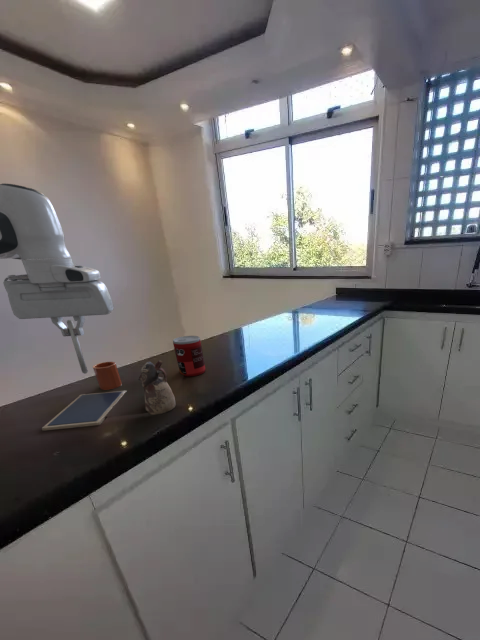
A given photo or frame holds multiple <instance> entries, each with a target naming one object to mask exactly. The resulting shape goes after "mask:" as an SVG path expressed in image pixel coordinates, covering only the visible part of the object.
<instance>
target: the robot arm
mask: <svg viewBox="0 0 480 640" xmlns="http://www.w3.org/2000/svg"><path fill="white" fill-rule="evenodd" d="M65 239H66V238H65V233H64V229H63V228H62V225H61V222H60V219H59V217H58V214H57V212H56V210H55V207H54V206H53V203H52V201H51V200H50V198H49V197H48V196H47V195H45V194H44V193H43V192H41V191H39V190H37V189H34V188H31V187H26V186H23V185H19V184H14V183H0V260H3V259H4V260H5V259H13V260H19V261H20V260H21V263H22V266H23V268H24V270H25V274H17V275H16V274H10V275H7V277H5V278H4V280H3V283H2V284H3V287H4V289H5V292H6V293H7V298H8V301H9V305H10V309H11V311H12V314H13V315H14V316H15V317H16V318H17V319H18V320H32V319H49V318H50V320H51V323H52V324H53V325H54V326H55V327H57V328H58V329H59V330H60V332H61V334H62V336H63V337H71V335H70V331H69V328H68V326H66V325H65V323H64V322H63V321H64V318H68V317H72V318H73V322H76V326H74V327H75V328H73V329H72V330H73V332H74V335H75V336H77V337H79V336H80V337H81V336H84V335H85V330H84V328H83V327H84V325H85V321H86V318H85V317H87V316H88V317H90V316H105V315H106V316H107V315H110V314H112V313H113V311H114V308H115V306H114V302H113V299H112V297H111V294H110V292H109V289H108V287H107V285H106V284H105V283H104V282H103V281H101V279H102V278H101V277H102V276H101V272H100V271H99V269H95V268H92V267H88V266H84V265H80V264H76V263H74V262H73V258H72V255H71V254H70V252H69V250H68V249H67V246H66V242H65V241H66V240H65Z"/></svg>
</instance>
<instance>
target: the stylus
mask: <svg viewBox="0 0 480 640" xmlns="http://www.w3.org/2000/svg"><path fill="white" fill-rule="evenodd" d="M66 325H67V328H69V331H70V335H71V336H70V337H71V341H72V344H73V348H74V350H75V351H74V352H75V354H76V357H77V360H78V363H79V366H80V370H81V373H82V374H87V373H88V372H89V370H88V368H87V364H86V361H85V357H84V355H83V354H84V353H83V351H82V348H81V345H80V341H79V336H75V335H74V332H73V330H72V329H73V328H75V327H76V326H75V323H74V320H72V319H67V320H66Z"/></svg>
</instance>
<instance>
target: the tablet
mask: <svg viewBox="0 0 480 640" xmlns="http://www.w3.org/2000/svg"><path fill="white" fill-rule="evenodd" d="M126 393H127V390H116V391H107V392H95V393H94V392H93V393H82V394H79V395H78V396H77V397H76V398H75V399H74V400H72V401H71V402H70V403H69V404H68V405H66V407H64V408H63V409H62V410H61V411H60V412H58V414H56V415H55V416H54V417H53V418H52V419H51V420H49V421H48V422H47V423H46V424H44V426H42V428H41V430H42V431H55V430H63V429H65V430H66V429H73V428H84V427H94V426H100V425H102V424H103V422H104V421H105V420H106V419H107V417H108V416H107V415H108V414H109V412H110V411H112V409H113V408H114V407H115V405H116V404H117V403H118V402H119V401H120V400H121V399H122V397H124V395H125V394H126Z"/></svg>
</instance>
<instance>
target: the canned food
mask: <svg viewBox="0 0 480 640" xmlns="http://www.w3.org/2000/svg"><path fill="white" fill-rule="evenodd" d="M172 344H173V349H174V353H175V358H176V362H177V363H176V364H177V367H178V371H179V373H180V375H182V376H183V377H188V378H190V377H197V376H200V375H203V374H204V373H206V364H205V359H204V358H205V357H204V353H203V347H202V342H201V337H200V336H197V335H184V336H183V335H182V336H179V337H175V338H173V339H172Z"/></svg>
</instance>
